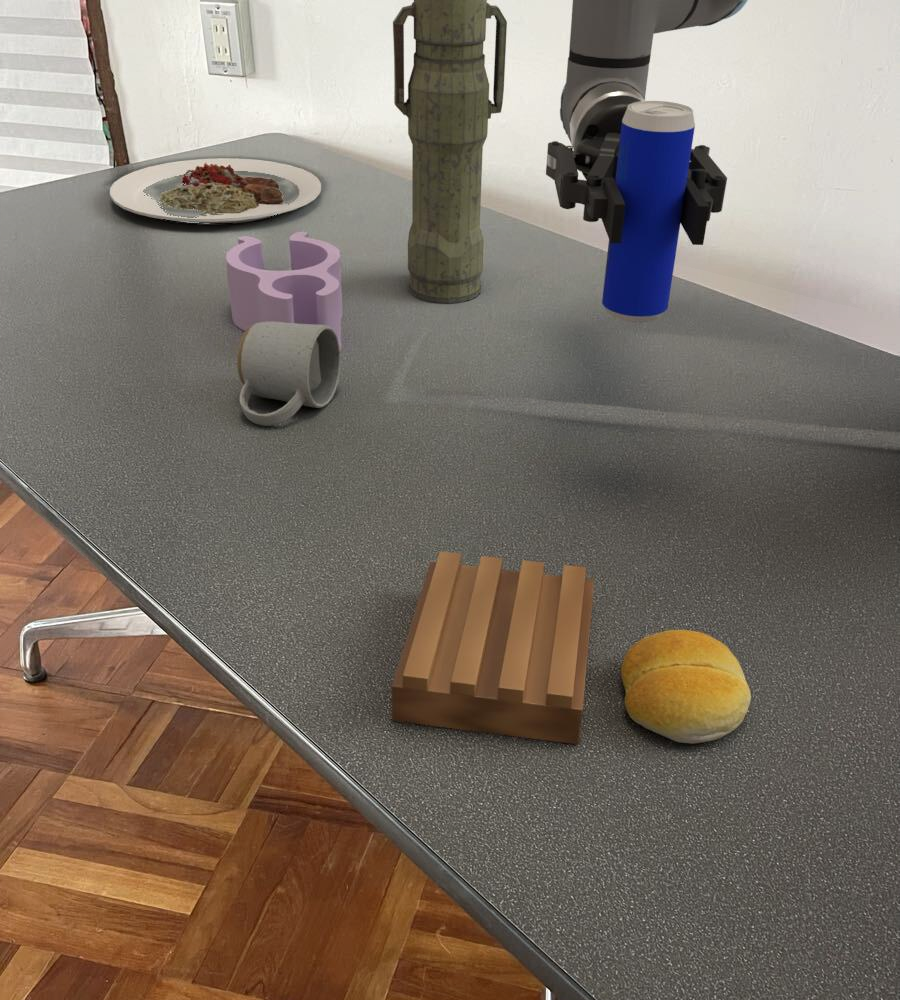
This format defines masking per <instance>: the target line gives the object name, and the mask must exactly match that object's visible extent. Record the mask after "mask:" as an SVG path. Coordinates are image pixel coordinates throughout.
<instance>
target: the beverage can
mask: <svg viewBox="0 0 900 1000" xmlns="http://www.w3.org/2000/svg"><path fill="white" fill-rule="evenodd" d="M695 128H696V123H695V116H694V109H693V108H692V107H690V106H688V105H685V104H683V103H682V104H681V103H678V102H672V101H665V100H646V101H640V102H635V103H631V104H629V105H628V107H627V110H626V112H625V115H624V117H623V119H622V126H621V135H620V144H619V153H618V163H617V172H616V181H615V182H616V184H617V187H618V189H619V191H620V193H621V196H622V198H623V200H624V202H625V204H626V205H625V214H624V222H623V231H622V239H621V243H610V240H609V239H608V245H607V246H608V247H607V254H606V263H605V271H604V282H603V291H602V298H601V299H602V300H601V302H602V303H601V304H602V306H603V307H604V309H605V311H606V312H607V314H608V315H609V316H611V317H613V318H614V319H617V320H620V321H623V322H629V323H649V322H652V321H656V320H658V319H659V318H661V317H662V316H663V315H664V313H665V312H666V311H668V309H669V303H670V302H669V301H670V296H671V290H672V281H673V277H674V276H673V275H674V268H675V263H676V254H677V250H678V242H679V234H680V228H681V216H682V209H683V202H684V196H685V189H686V182H687V176H688V169H689V162H690V155H691V149H693V142H694V135H695Z"/></svg>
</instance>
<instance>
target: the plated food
mask: <svg viewBox="0 0 900 1000" xmlns="http://www.w3.org/2000/svg"><path fill="white" fill-rule="evenodd" d="M234 171H248V172H257V173H258V172H259V173H265V174H270V175H275V176H278V177H281V178H285V179H287V180H289V181H291V182H293V183H294V184H295V185H297V187H298V189H299V196H298V198H297V199H296V200H295V201H294V202H292V203H290V204H289V205H288V204H285V203H282V202H283V201H284V199H283V197H282V194H283V193H282V192H281V191H280V189H278V188H279V187H280V186H279V184H278V183H277V182H276V181H275V180H274V179H270V178H263V177H250V176H249V177H244V178H243V177H241V176H239V175H238V174H235V172H234ZM189 173H191V174H190V176H188V175H187V174H189ZM179 175H183V177H182V183H184V184H185V183H186V185H184V184H183V185H182V187H178V188H174V189H172V190H169V191H165V192H162V193H161V195H160V200H159V201H161V202H162V203H161V206H168V205H170V206H172V207H173V208H174V209H176V208H177V209H180V208H182V210H187V209H193V208H194V209H196V210H197V209H198V210H201V211H202V213H201V214H199V215H198V216H199V217H197V216H196V217H197V218H195V217H194V218H187V217H181V216H179V217H178V216H173V215H171V216H170V215H169V214H168V215H167V213H165V212H164V211H163V209H161V208H160V207H161V206H159V205H160V204H159V205H158V203H157V202H156V200H155V199H154V198H153V197H150V195H149V194H148V195H149V196H147V195H146V193H144V192H143V190H144V189H146V187H148V186H150V185H152V184H154V183H156V182H158V181H161V180H163V179H167V178H171V177H174V176H179ZM186 175H187V176H186ZM321 191H322V183H321V181H320V180H319V178H318V177H317V176H315V174H313V173H312V172H310V171H308V170H305V169H303V168H300V167H297V166H294V165H291V164H287V163H282V162H277V161H270V160H262V159H251V158H237V157H236V158H233V157H231V158H228V157H227V158H225V157H222V158H221V157H219V158H198V159H188V160H179V161H172V162H171V161H170V162H165V163H160V164H157V165H152V166H147V167H144V168H141V169H138V170H135V171H132V172H130V173H127V174H125V175H123V176H121V177H119V178H118V179H117V180H116V181H114V182H113V183H112V185H111V187H110V188H109V196H110V199H111V200H112V202H113V203H114V204H115V205H117V206H118V207H120V208H122V210H125V211H128V212H130V213H133V214H135V215H136V214H137V215H140V216H145V217H148V218H153V219H159V220H163V219H166V220H165V221H167V220H175V221H189V222H199V223H233V224H241V223H248V222H254V221H260V220H265V219H269V218H271V216H272V217H275V216H278V215H280V214H284V213H288V212H291V211H294V210H297V209H299V208H301V207H304V206H307V205H308V204H310V203H311V202H313V201H314V200H316V199H317V197H318V196H319V195H320V194H321V193H322V192H321ZM144 195H145V196H144ZM151 198H153V199H154V200H153V199H151ZM284 202H285V201H284ZM159 203H160V202H159ZM162 208H163V207H162ZM165 211H166V210H165ZM206 213H207V214H206ZM208 213H209V214H208ZM277 214H278V215H277ZM274 215H275V216H274Z"/></svg>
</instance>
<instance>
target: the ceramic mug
mask: <svg viewBox="0 0 900 1000" xmlns="http://www.w3.org/2000/svg"><path fill="white" fill-rule="evenodd" d="M341 360H342V359H341V351H340V346H339V342H338V337H337V335H336V333H335V332H334V330H333V329H332V328H331V327H329V326H326V325H314V324H297V323H285V322H259V323H255V324H253V325H251V326H250V327H249V328H248V329H247V330H246V331H244V332H243V335H242V337H241V339H240V341H239V345H238V348H237V355H236V369H237V374H238V378H239V380H240V382H241V384H242V388H241V389H240V393H239V406H240V408H241V410H242V412H243V414H244V416H245V417H246V419H248V420H249V421H250V422H252V423H254V424H255V425H257V426H263V427H273V426H276V425H277V426H278V425H280V424H283V423H285V422H287V421H289V420H290V419H291V418H292V417H294V416H295V414H296V413H297V412H299V410H300V409H301V407H302V406H304V407H310V408H316V409H321V408H323V407H325V406H327V405H328V404H329V403H330V402H331V401H332V399H333V397H334V395H335V394H336V391H337V388H338V384H339V380H340V376H341V366H342V363H341ZM252 394H253V395H255V396H258V397H260V398H263V399H270V400H276V401H281V402H284V403H285V402H286V404H284V405H283V406H282V407H280V408H279V409H277V410H275V411H271V412H268V413H257V412H256V411H255V410H253V409H250V407H249V401H250V398H251V396H252Z"/></svg>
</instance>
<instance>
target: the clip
mask: <svg viewBox="0 0 900 1000" xmlns="http://www.w3.org/2000/svg"><path fill="white" fill-rule="evenodd" d="M308 233H309V232H307V231H296V232H295V233H293V234H292V235H290V236H289V240H288V241H289V253H290V254H289V255H290V270H269V269H265V267H264V266H265V264H264V255H263V253H264V252H263V243H262V240H260V239H259V238H256V237H253V236H249V235H241V236H238V237H237V244H236V245H235V246H233V247H232V248H230V249H229V250H228V251H227V253H226V255H225V263H226V273H227V281H228V282H227V283H228V291H229V301H230V310H231V319H232V322H233V325H235V326H236V327H237V328H238V329H239V330H242V331H244V332H245V331H246V330H247V329H248V328H249V327H250V326H251V325H253V324H255V323H259V322H285V323H297V324H314V325H326V326H329V327H331V328H332V329H333V330H334V332H335V333H336V335H337V337H338V342H339V346H340V352H341V350H342V348H343V345H342V344H343V341H342V319H343V316H344V315H343V314H344V313H343V312H344V311H343V292H342V291H343V290H342V266H341V265H342V263H341V262H342V261H341V251H340V250H339V248H338V247H336V246H335V245H333V244H331V243H330V242H327V241H324V240H320V239H316V238H312V237H309V235H308Z"/></svg>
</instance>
